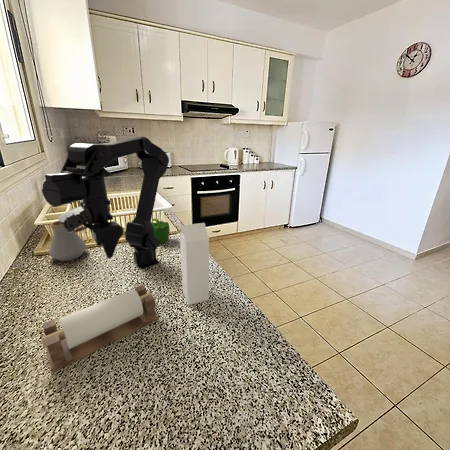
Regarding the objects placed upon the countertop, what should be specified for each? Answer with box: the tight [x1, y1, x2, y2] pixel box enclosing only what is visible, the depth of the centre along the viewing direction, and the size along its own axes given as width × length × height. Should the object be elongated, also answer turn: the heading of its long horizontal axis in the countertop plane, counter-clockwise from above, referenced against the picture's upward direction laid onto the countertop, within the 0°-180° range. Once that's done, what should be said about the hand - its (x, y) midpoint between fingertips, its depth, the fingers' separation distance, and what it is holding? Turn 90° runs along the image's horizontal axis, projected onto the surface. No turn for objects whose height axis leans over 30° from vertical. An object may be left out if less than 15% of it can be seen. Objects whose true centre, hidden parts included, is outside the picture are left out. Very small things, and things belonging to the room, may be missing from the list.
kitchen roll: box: [41, 288, 153, 349], centre depth 52 cm, size 22×6×6 cm, turn 131°
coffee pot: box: [48, 220, 91, 262], centre depth 82 cm, size 21×12×15 cm, turn 59°
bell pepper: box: [151, 217, 171, 244], centre depth 98 cm, size 8×8×10 cm
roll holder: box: [41, 284, 160, 374], centre depth 53 cm, size 22×7×6 cm, turn 131°
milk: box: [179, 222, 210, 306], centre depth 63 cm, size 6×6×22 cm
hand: (104, 251), depth 66 cm, fingers open, 9 cm apart
